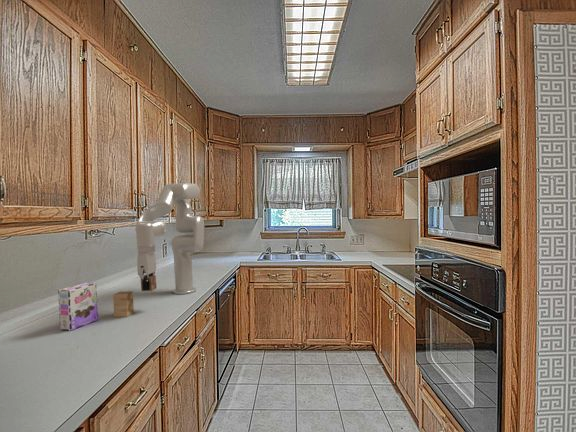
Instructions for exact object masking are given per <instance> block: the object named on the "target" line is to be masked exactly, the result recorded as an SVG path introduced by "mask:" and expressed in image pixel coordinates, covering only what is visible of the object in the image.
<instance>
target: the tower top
mask: <svg viewBox="0 0 576 432" xmlns="http://www.w3.org/2000/svg"><path fill="white" fill-rule="evenodd" d="M112 301H113V307H114V306H127V305H129V304H131V303H133V304H134V291H133V290H131V291H130V290H128V291H126V290H125V291H121V290H120V291H117V292H116V293H114V294H113V295H112Z"/></svg>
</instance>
